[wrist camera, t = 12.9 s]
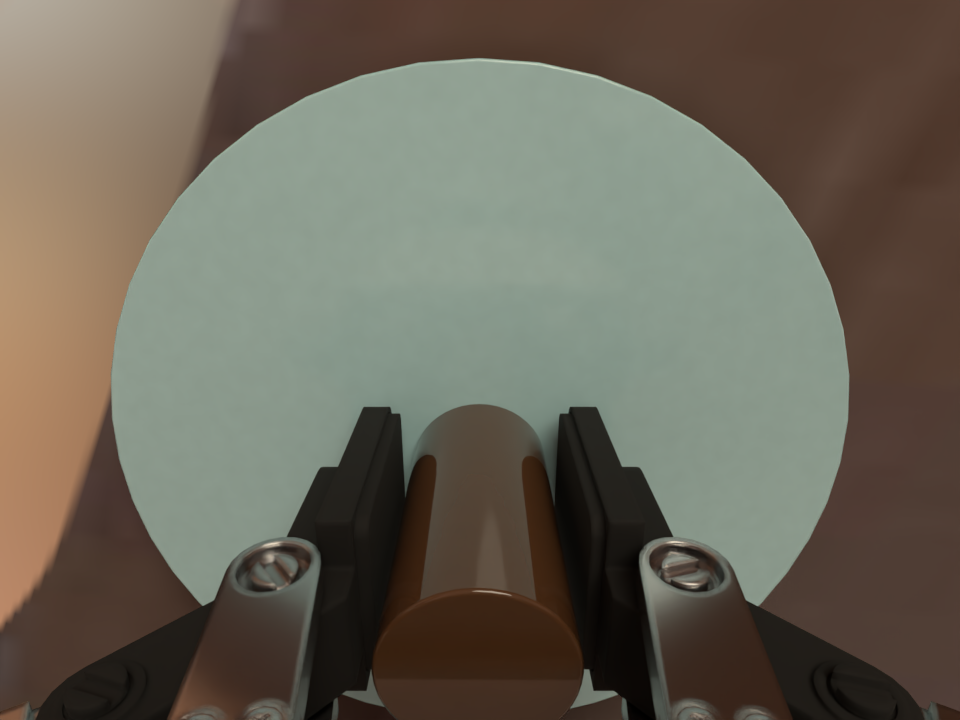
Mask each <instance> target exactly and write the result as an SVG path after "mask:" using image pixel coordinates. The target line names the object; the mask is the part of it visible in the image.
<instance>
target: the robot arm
mask: <svg viewBox="0 0 960 720" xmlns="http://www.w3.org/2000/svg"><path fill="white" fill-rule="evenodd" d="M404 502H405V483H404V464H403V445H402V427H401V415H400V414H399V413H392V412H391V408H390V407H363V409H362V411H361V414H360V416H359V418H358V421H357V423H356V425H355V428H354V430H353V432H352V435H351V437H350V439H349V442H348V444H347V447H346V449H345V451H344V454H343V456H342V458H341V461H340V463H339V465H338V467H320V469H319V470H318V472H317V474H316V476H315V478H314V480H313V482H312V484H311V487H310V489H309V491H308V493H307V495H306V497H305V499H304V501H303V503H302V505H301V507H300V510H299V512H298V514H297V516H296V518H295V520H294V522H293V524H292V526H291V528H290V531H289V533H288V535H287V537H280V538H274V539H268V540H265V541H262V542H260V543H257V544H254V545H252V546H251V547H249V548H247V549H245V550H244V551H242V552H241V553H240V554H239V555H238V556H236V557H235V558H234V559H233V560H232V561H231V563H230V565H229V566H228V568H227V569H226V571H225V574H224V577H223V579H222V582H221V584H220V587H219V589H218V592H217V594H216V597H215V599H214V600H213V601H212V602H210V603H208V604H206V605H204V606H202V607H200V608H198V609H196V610H194V611H192V612H190V613H188V614H187V615H185V616H183V617H181V618H179V619H177V620H175V621H173V622H171V623H169V624H167V625H165V626H163V627H162V628H160V629H158V630H156V631H154V632H152V633H150V634H148V635H146V636H144V637H142V638H140V639H138V640H137V641H135V642H133V643H131V644H129V645H127V646H125V647H123V648H121V649H119V650H117V651H115V652H113V653H112V654H110V655H108V656H106V657H104V658H102V659H100V660H98V661H96V662H94V663H92V664H90V665H88V666H87V667H85V668H83V669H82V670H80V671H78V672H77V673H75V674H74V675H72V676H70V677H69V678H67V679H66V680H65V681H64V682H63V683H62V684H61V685H59V686H58V687H57V688H56V689H55V690H54V691H53V692H52V693H51V694H50V695H49V697H48V698H47V699H46V701H45V702H44V703H43V705H42V706H41V707H39V708H36V709H34V710H32V708H31V705H30V703H29V701H28V702H25V703H22V704H20V705H17V706H14V707H11V708H9V709H6V710H3V711H1V712H0V720H337V719H338V697H339V696H340V695H341V694H343V693H344V692H346V691H367V686H368V681H369V676H370V672H371V661H372V655H373V650H374V645H375V640H376V635H377V631H378V626H379V621H380V616H381V612H382V607H383V602H384V597H385V592H386V588H387V583H388V578H389V573H390V569H391V564H392V559H393V554H394V549H395V545H396V540H397V535H398V530H399V526H400V521H401V516H402V511H403V506H404ZM554 508H555V513H556V518H557V523H558V529H559V534H560V539H561V544H562V549H563V554H564V560H565V565H566V570H567V575H568V580H569V586H570V591H571V596H572V601H573V606H574V612H575V617H576V622H577V627H578V632H579V638H580V643H581V648H582V653H583V659H584V669H589V671H590V676H591V681H592V686H593V691H615V692H616V693H617V694H619V695H620V696H621V697H622V719H623V720H960V711H957V710H954V709H951V708H949V707H946V706H943V705H940V704H938V703H935V702H932V701H931V703H930V705H929V708H928V710H926V709H924V708H921V707H919V706H918V705H917V703H916V702H915V701H914V699H913V698H912V697H911V695H910V694H909V693H908V692H907V691H906V690H905V689H904V688H903V687H902V686H901V685H899V684H898V683H897V682H896V681H895V680H894V679H893V678H891V677H890V676H888V675H886V674H885V673H883V672H882V671H880V670H878V669H877V668H875V667H873V666H872V665H870V664H868V663H866V662H864V661H862V660H860V659H858V658H856V657H854V656H852V655H850V654H848V653H847V652H845V651H843V650H841V649H839V648H837V647H835V646H833V645H831V644H829V643H827V642H825V641H823V640H822V639H820V638H818V637H816V636H814V635H812V634H810V633H808V632H806V631H804V630H802V629H800V628H799V627H797V626H795V625H793V624H791V623H789V622H787V621H785V620H783V619H781V618H779V617H777V616H775V615H774V614H772V613H770V612H768V611H766V610H764V609H762V608H760V607H758V606H756V605H754V604H752V603H750V602H749V601H747V600H746V599H745V597H744V594H743V592H742V589H741V587H740V584H739V582H738V579H737V577H736V574H735V571H734V569H733V568H732V566H731V565H730V563H729V561H728V560H727V559H726V558H725V557H724V556H722V555H721V554H720V553H719V552H718V551H716V550H715V549H713V548H711V547H709V546H708V545H706V544H703V543H700V542H698V541H695V540H692V539H686V538H680V537H673V535H672V533H671V530H670V528H669V526H668V524H667V522H666V520H665V518H664V516H663V514H662V512H661V510H660V507H659V505H658V503H657V501H656V499H655V497H654V495H653V493H652V491H651V489H650V486H649V484H648V482H647V480H646V478H645V476H644V474H643V472H642V470H641V469H640V467H622V465H621V463H620V461H619V458H618V456H617V454H616V451H615V449H614V446H613V444H612V442H611V439H610V437H609V435H608V432H607V430H606V428H605V425H604V423H603V421H602V418H601V416H600V413H599V411H598V409H597V407H570V408H569V412H568V413H561V414H560V416H559V427H558V446H557V465H556V483H555V502H554Z"/></svg>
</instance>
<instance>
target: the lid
mask: <svg viewBox="0 0 960 720" xmlns="http://www.w3.org/2000/svg"><path fill="white" fill-rule="evenodd" d="M111 397H112V421H113V426H114V432H115V438H116V443H117V449H118V455H119V460H120V464H121V467H122V470H123V473H124V476H125V479H126V482H127V485H128V488H129V491H130V494H131V497H132V500H133V502H134V505H135V507H136V509H137V511H138V513H139V515H140V517H141V519H142V521H143V523H144V525H145V527H146V529H147V531H148V534H149V536H150V538H151V539H152V541H153V542H154V544H155V545H156V547H157V548H158V550H159V551H160V553H161V554H162V556H163V558H164V559H165V561H166V562H167V564H168V565H169V567H170V568H171V570H172V571H173V573H174V574H175V575H176V576H177V577H178V578H179V580H180V581H181V582H182V583H183V584H184V586H185V587H186V588H187V589H188V590H189V592H190V593H191V594H192V595H193V596H194V597H195V599H196V600H197V601H198V602H199V603H200V604H201V605H202V606H204V605H206V604H208V603H210V602H212V601H213V600H214V599H215V597H216V594H217V592H218V589H219V587H220V584H221V582H222V579H223V577H224V574H225V571H226V569H227V568H228V566H229V565H230V563H231V561H232V560H233V559H234V558H235V557H236V556H238V555H239V554H240V553H241V552H242V551H244V550H245V549H247V548H249V547H251V546H252V545H254V544H257V543H260V542H262V541H265V540H268V539H274V538H280V537H287V535H288V533H289V531H290V528H291V526H292V524H293V522H294V520H295V518H296V516H297V514H298V512H299V510H300V507H301V505H302V503H303V501H304V499H305V497H306V495H307V493H308V491H309V489H310V487H311V484H312V482H313V480H314V478H315V476H316V474H317V472H318V470H319V469H320V467H338V465H339V463H340V461H341V458H342V456H343V454H344V451H345V449H346V447H347V444H348V442H349V439H350V437H351V435H352V432H353V430H354V428H355V425H356V423H357V421H358V418H359V416H360V414H361V411H362V409H363V407H390V408H391V412H392V413H399V414H400V415H401V427H402V445H403V464H404V483H405V502H404V506H403V511H402V516H401V521H400V526H399V530H398V535H397V540H396V545H395V549H394V554H393V559H392V564H391V569H390V573H389V578H388V583H387V588H386V592H385V597H384V602H383V607H382V612H381V616H380V621H379V626H378V631H377V635H376V640H375V645H374V650H373V655H372V661H371V672H370V676H369V681H368V686H367V691H346V692H344V693H343V694H342V695H345V696H348V697H351V698H354V699H357V700H360V701H362V702H365V703H370V704H374V705H378V706H382V707H385V708H386V709H387V710H388V712H389V713H390V714H391V715H392V716H393V717H394V718H395V719H396V720H560V719H561V718H562V717H563V716H564V715H565V714H566V713H567V712H568V710H569V709H571V708H575V707H580V706H584V705H588V704H592V703H596V702H599V701H602V700H604V699H607V698H610V697H613V696H616V695H619V694H617V693H616V692H615V691H593V686H592V681H591V676H590V671H589V669H584V659H583V653H582V648H581V643H580V638H579V632H578V627H577V622H576V617H575V612H574V606H573V601H572V596H571V591H570V586H569V580H568V575H567V570H566V565H565V560H564V554H563V549H562V544H561V539H560V534H559V529H558V523H557V518H556V513H555V508H554V502H555V483H556V465H557V446H558V427H559V416H560V414H561V413H568V412H569V408H570V407H597V409H598V411H599V413H600V416H601V418H602V421H603V423H604V425H605V428H606V430H607V432H608V435H609V437H610V439H611V442H612V444H613V446H614V449H615V451H616V454H617V456H618V458H619V461H620V463H621V465H622V467H640V469H641V470H642V472H643V474H644V476H645V478H646V480H647V482H648V484H649V486H650V489H651V491H652V493H653V495H654V497H655V499H656V501H657V503H658V505H659V507H660V510H661V512H662V514H663V516H664V518H665V520H666V522H667V524H668V526H669V528H670V530H671V533H672V535H673V537H680V538H686V539H692V540H695V541H698V542H700V543H703V544H706V545H708V546H709V547H711V548H713V549H715V550H716V551H718V552H719V553H720V554H721V555H722V556H724V557H725V558H726V559H727V560H728V561H729V563H730V565H731V566H732V568H733V569H734V571H735V574H736V577H737V579H738V582H739V584H740V587H741V589H742V592H743V594H744V597H745V599H746V600H747V601H749V602H750V603H752V604H754V605H756V606H759V605H760V604H761V603H762V602H763V601H764V600H765V598H766V597H767V596H768V595H769V594H770V593H771V591H772V590H773V589H774V588H775V587H776V585H777V584H778V583H779V582H780V581H781V580H782V578H783V577H784V576H785V575H786V574H787V572H788V571H789V569H790V568H791V566H792V565H793V563H794V562H795V560H796V559H797V557H798V556H799V554H800V553H801V551H802V549H803V548H804V546H805V545H806V543H807V542H808V540H809V539H810V537H811V535H812V533H813V531H814V529H815V526H816V524H817V522H818V520H819V518H820V516H821V514H822V512H823V510H824V508H825V506H826V504H827V502H828V499H829V496H830V492H831V489H832V486H833V483H834V480H835V477H836V474H837V471H838V468H839V465H840V462H841V456H842V451H843V445H844V439H845V433H846V428H847V422H848V400H849V370H848V362H847V354H846V346H845V338H844V330H843V327H842V323H841V320H840V316H839V313H838V309H837V306H836V302H835V299H834V295H833V292H832V289H831V285H830V283H829V280H828V278H827V276H826V274H825V272H824V270H823V268H822V265H821V263H820V261H819V259H818V257H817V255H816V253H815V250H814V248H813V246H812V244H811V242H810V240H809V238H808V237H807V235H806V234H805V232H804V231H803V229H802V228H801V226H800V225H799V223H798V222H797V220H796V219H795V217H794V216H793V214H792V213H791V211H790V210H789V209H788V207H787V206H786V204H785V203H784V201H783V200H782V198H781V197H780V196H779V195H778V194H777V193H776V191H775V190H774V189H773V188H772V187H771V186H770V185H769V184H768V183H767V182H766V181H765V180H764V179H763V177H762V176H761V175H760V174H759V173H758V172H757V171H756V170H755V169H754V168H753V167H752V166H751V165H750V164H749V162H748V161H747V160H746V159H745V158H744V157H742V156H741V155H740V154H739V153H737V152H736V151H735V150H733V149H732V148H731V147H730V146H728V145H727V144H726V143H725V142H723V141H722V140H721V139H719V138H718V137H717V136H716V135H714V134H713V133H712V132H711V131H709V130H708V129H707V128H706V127H704V126H703V125H702V124H700V123H698V122H696V121H695V120H693V119H691V118H689V117H688V116H686V115H684V114H682V113H681V112H679V111H677V110H675V109H674V108H672V107H670V106H668V105H667V104H665V103H663V102H661V101H659V100H658V99H656V98H654V97H652V96H650V95H647V94H645V93H642V92H640V91H637V90H634V89H632V88H629V87H627V86H624V85H621V84H619V83H616V82H614V81H611V80H608V79H606V78H603V77H601V76H598V75H594V74H589V73H585V72H580V71H576V70H571V69H567V68H562V67H558V66H553V65H549V64H544V63H540V62H528V61H514V60H500V59H486V58H472V59H459V60H445V61H431V62H419V63H414V64H410V65H405V66H401V67H396V68H392V69H387V70H383V71H379V72H374V73H370V74H365V75H361V76H358V77H356V78H353V79H350V80H348V81H345V82H343V83H340V84H337V85H335V86H332V87H330V88H327V89H324V90H322V91H319V92H317V93H314V94H312V95H309V96H306V97H305V98H303V99H301V100H299V101H298V102H296V103H294V104H292V105H291V106H289V107H287V108H285V109H284V110H282V111H280V112H278V113H277V114H275V115H273V116H271V117H270V118H268V119H266V120H264V121H263V122H261V123H259V124H257V125H256V126H255V127H253V128H252V129H251V130H250V131H248V132H247V133H246V134H245V135H243V136H242V137H241V138H240V139H238V140H237V141H236V142H235V143H233V144H232V145H231V146H229V147H228V148H227V149H226V150H224V151H223V152H222V153H221V154H219V155H218V156H217V157H216V158H214V159H213V160H212V162H211V163H210V164H209V165H208V166H207V167H206V168H205V169H204V170H203V171H202V172H201V173H200V174H199V176H198V177H197V178H196V179H195V180H194V181H193V182H192V183H191V184H190V185H189V186H188V187H187V189H186V190H185V191H184V192H183V193H182V194H181V195H180V196H179V197H178V199H177V200H176V202H175V203H174V205H173V206H172V208H171V209H170V211H169V212H168V214H167V215H166V217H165V218H164V220H163V221H162V222H161V224H160V226H159V227H158V228H157V230H156V231H155V233H154V234H153V236H152V237H151V239H150V241H149V243H148V245H147V247H146V249H145V252H144V254H143V256H142V258H141V260H140V262H139V265H138V267H137V269H136V271H135V273H134V275H133V278H132V280H131V282H130V284H129V288H128V291H127V294H126V298H125V301H124V305H123V309H122V312H121V316H120V319H119V323H118V326H117V330H116V337H115V346H114V353H113V362H112V370H111Z"/></svg>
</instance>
